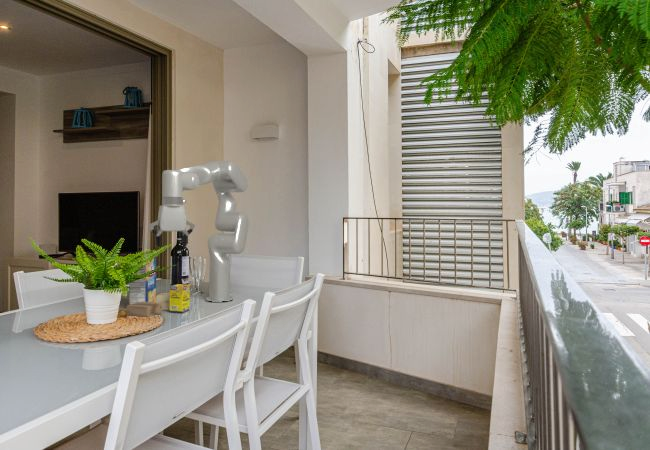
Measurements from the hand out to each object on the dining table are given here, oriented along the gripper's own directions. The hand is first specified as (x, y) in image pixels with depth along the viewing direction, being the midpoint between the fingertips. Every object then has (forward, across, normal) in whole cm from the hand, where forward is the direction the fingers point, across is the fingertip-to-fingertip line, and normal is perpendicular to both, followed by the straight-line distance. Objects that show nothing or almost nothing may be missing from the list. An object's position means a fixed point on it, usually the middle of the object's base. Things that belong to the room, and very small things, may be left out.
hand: (172, 246), depth 171 cm
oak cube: (+28, -2, -18) cm, 33 cm away
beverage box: (+28, +6, -25) cm, 38 cm away
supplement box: (+28, -5, -8) cm, 30 cm away
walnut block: (+28, +9, -6) cm, 30 cm away
